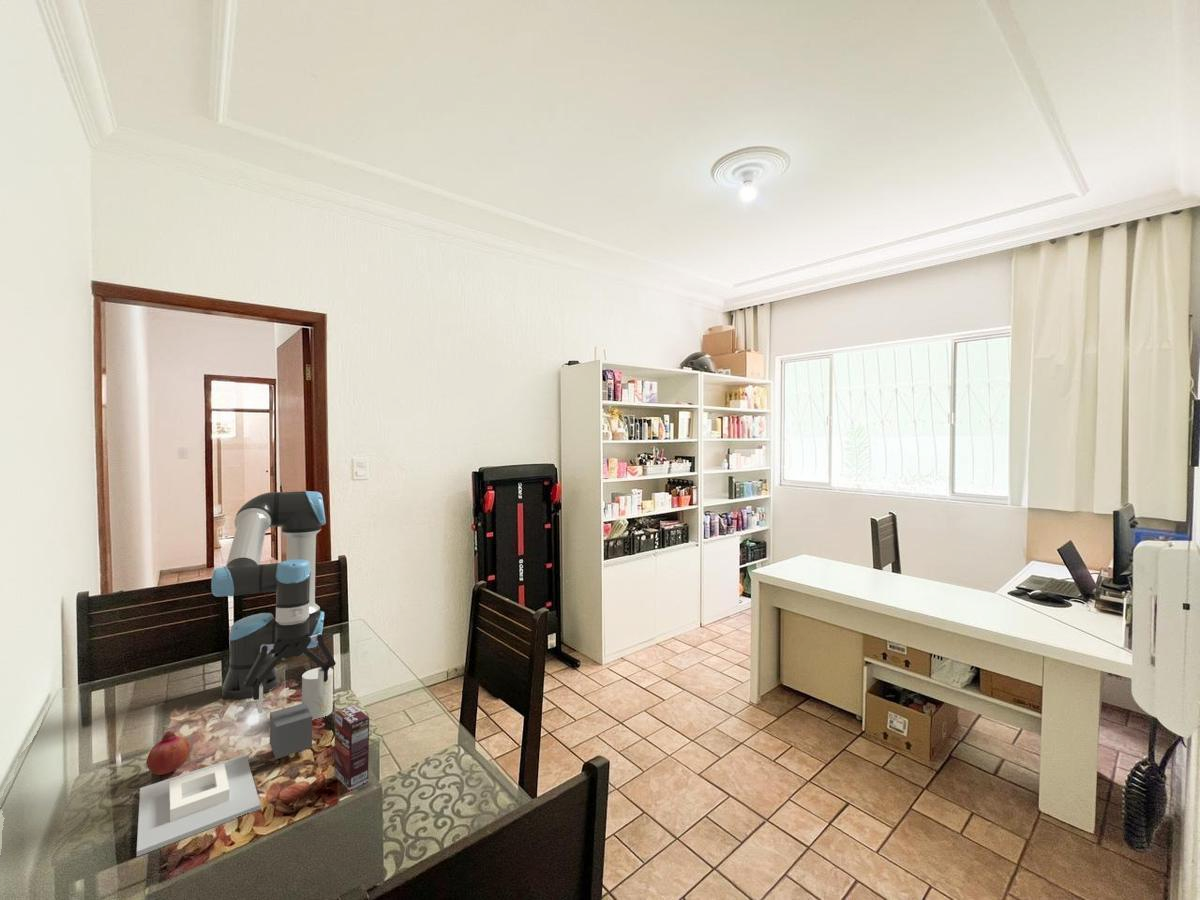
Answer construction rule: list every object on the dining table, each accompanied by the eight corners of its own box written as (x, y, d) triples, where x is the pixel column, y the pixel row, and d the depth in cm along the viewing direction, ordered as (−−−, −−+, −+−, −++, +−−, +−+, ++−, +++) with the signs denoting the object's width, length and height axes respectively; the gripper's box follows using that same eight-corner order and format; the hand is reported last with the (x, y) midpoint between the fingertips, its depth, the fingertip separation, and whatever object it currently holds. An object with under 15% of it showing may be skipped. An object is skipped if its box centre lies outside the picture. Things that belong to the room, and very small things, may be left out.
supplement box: (332, 776, 121) (333, 711, 122) (353, 767, 125) (354, 703, 125) (348, 792, 116) (349, 723, 116) (369, 782, 120) (370, 715, 120)
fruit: (139, 787, 117) (140, 744, 117) (154, 767, 124) (155, 726, 124) (183, 778, 120) (183, 737, 120) (194, 759, 127) (195, 720, 127)
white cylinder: (318, 721, 146) (319, 680, 146) (294, 718, 147) (295, 677, 147) (338, 707, 154) (339, 668, 154) (315, 704, 155) (316, 666, 155)
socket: (140, 792, 115) (140, 777, 115) (246, 758, 128) (246, 744, 128) (136, 856, 97) (136, 838, 97) (260, 809, 110) (260, 793, 110)
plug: (269, 751, 131) (270, 712, 131) (304, 740, 136) (304, 702, 136) (275, 768, 124) (276, 727, 124) (311, 755, 130) (312, 716, 130)
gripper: (235, 635, 119) (233, 725, 119) (348, 614, 136) (347, 693, 136) (232, 627, 125) (230, 712, 125) (341, 608, 142) (339, 683, 141)
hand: (291, 702), depth 130 cm, fingers open, 13 cm apart
